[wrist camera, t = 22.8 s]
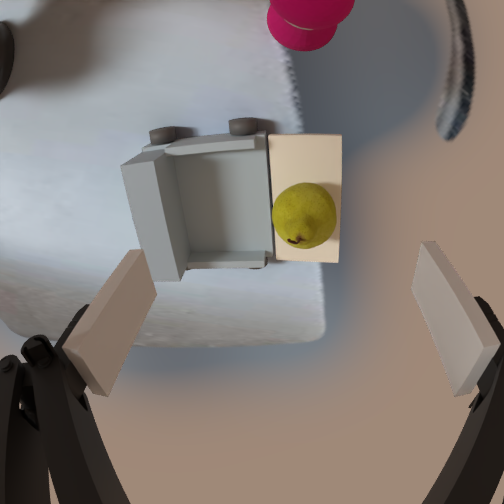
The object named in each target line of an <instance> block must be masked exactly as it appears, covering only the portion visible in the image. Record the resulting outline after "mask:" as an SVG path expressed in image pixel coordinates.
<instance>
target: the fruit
mask: <svg viewBox="0 0 504 504" xmlns="http://www.w3.org/2000/svg"><path fill="white" fill-rule="evenodd" d="M272 221H273V224H274V227H275V230H276V232H277V234H278V235H279V236H280V238H281V239H282V240H283V241H285V242H286V243H287V244H289V245H290V246H292V247H294V248H299V249H310V248H313V247H316V246H319V245H321V244H323V243H324V242H326V241H327V240H328V239H329V238H330V236H331V235H332V233H333V232H334V230H335V227H336V223H337V216H336V207H335V203H334V201H333V199H332V197H331V195H330V194H329V192H328V191H327V190H326V189H324V188H323V187H322V186H320V185H318V184H314V183H307V182H303V183H298V184H295V185H293V186H290V187H289V188H287V189H285V190H284V191H283V192H282V193H281V194H280V195H279V196H278V197H277V198H276V200H275V202H274V206H273V210H272Z"/></svg>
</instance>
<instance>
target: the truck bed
mask: <svg viewBox="0 0 504 504" xmlns="http://www.w3.org/2000/svg"><path fill="white" fill-rule="evenodd" d="M229 129H230V133H227V134H216V135H207V136H198V137H189V138H182V139H176V134H175V127H174V126H170V127H164V128H159V129H155V130H152V131H149V134H150V140H151V143H150V144H148V145H146V146H145V147H143V148H142V153H140V154H138V155H137V156H135V157H134V158H132V159H130V160H129V161H127V162H126V163H124V164H123V165H121V171H122V176H123V180H124V184H125V189H126V193H127V197H128V201H129V205H130V209H131V213H132V217H133V221H134V225H135V229H136V232H137V236H138V240H139V243H140V247H141V249H143V250H144V253H145V257H146V260H147V263H148V267H149V270H150V274H151V277H152V280H153V281H181V279H182V276H183V274H184V272H185V270H190V269H209V268H250V269H260V268H263V267H265V266H266V265H267V263H268V259H267V257H273V252H274V238H273V222H272V207H271V192H270V178H269V164H268V151H267V138H266V131H257V121H256V118H238V119H232V120H229Z"/></svg>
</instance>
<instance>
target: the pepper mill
mask: <svg viewBox="0 0 504 504" xmlns="http://www.w3.org/2000/svg"><path fill="white" fill-rule="evenodd" d="M354 1H355V0H270V3H271V5H270V7H269V10H268V14H267V24H268V28H269V30H270V32H271V34H272V36H273V37H274V38H275V39H276V40H277V41H278V42H279V43H280V44H282V45H283V46H285V47H287V48H290V49H293V50H297V51H312V50H316V49H319V48H321V47H323V46H324V45H326V44H327V43H328V42H329V41H330V40H331V39H332V37H333V36H334V33H335V31H336V29H337V24H338V23H340V22H341V21H343V20H344V19H345V18H346V17H347V16H348V14H349V13H350V11H351V10H352V8H353V5H354Z"/></svg>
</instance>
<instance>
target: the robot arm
mask: <svg viewBox="0 0 504 504" xmlns="http://www.w3.org/2000/svg"><path fill="white" fill-rule="evenodd" d="M13 58H14V42H13V37H12V34H11V31H10V29H9V28H8V27H7V26H6V25H5V24H3V23H0V94H1V92H2V91H3V89H4V87H5V85H6V83H7V81H8V79H9V76H10V73H11V69H12V64H13ZM411 290H412V292H413V294H414V297H415V299H416V301H417V303H418V305H419V308H420V310H421V312H422V314H423V317H424V319H425V321H426V324H427V326H428V328H429V331H430V333H431V336H432V338H433V340H434V343H435V345H436V348H437V350H438V353H439V355H440V358H441V361H442V363H443V366H444V368H445V371H446V374H447V377H448V380H449V383H450V385H451V388H452V391H453V394H454V397H456V396H461V395H465V394H469V393H471V392H472V390H473V389H474V387H475V386H476V384H477V385H478V388H479V390H480V391H479V393H478V394H477V396H476V397H475V398H474V400H473V401H472V403H471V404H470V405H469V408H471V407H472V408H471V411H470V413H469V416H468V418H467V420H466V423H465V425H464V427H463V429H462V432H461V434H460V436H459V438H458V440H457V442H456V444H455V446H454V448H453V450H452V452H451V455H450V457H449V458H448V460H447V462H446V464H445V466H444V468H443V469H442V471H441V473H440V475H439V476H438V478H437V480H436V482H435V484H434V485H433V487H432V488H431V490H430V492H429V493H428V495H427V497H426V498H425V500H424V501H423V503H422V504H489V503H490V502H491V499H492V497H493V495H494V493H495V491H496V488H497V486H498V484H499V481H500V479H501V476H502V474H503V471H504V329H503V327H502V325H501V324H500V322H499V321H498V319H497V317H496V315H495V314H494V313H493V311H492V309H491V307H490V306H489V304H488V303H487V302H486V301H484V300H483V299H482V298H481V297H480V296H478V297H473V296H472V294H471V292H470V291H469V290H468V288H467V286H466V285H465V283H464V282H463V280H462V279H461V277H460V276H459V274H458V273H457V271H456V270H455V268H454V267H453V265H452V264H451V263H450V261H449V260H448V258H447V257H446V255H445V254H444V253H443V251H442V250H441V249H440V247H439V246H438V244H437V243H436V242H435V241H424V242H421V246H420V251H419V256H418V261H417V265H416V270H415V274H414V279H413V283H412V288H411ZM156 295H157V293H156V290H155V286H154V283H153V280H152V277H151V274H150V270H149V267H148V263H147V260H146V257H145V253H144V250H143V249H136V250H129V252H128V253H127V254H126V255H125V257H124V258H123V259H122V261H121V262H120V263H119V265H118V266H117V268H116V269H115V270H114V272H113V273H112V274H111V276H110V277H109V278H108V280H107V281H106V283H105V284H104V285H103V287H102V288H101V290H100V291H99V292H98V294H97V295H96V297H95V298H94V300H93V301H92V302H91V304H86V305H85V306H84V307H83V308H81V309H80V310H79V311H78V312H77V313H76V315H75V316H74V318H73V319H72V321H71V322H70V323H69V325H68V328H66V329H65V331H64V332H63V334H62V335H61V337H60V338H59V340H58V342H57V343H56V345H55V346H54V348H53V346H52V345H51V343H50V341H49V340H48V338H47V337H46V336H44V335H35V336H33V337H31V338H29V339H28V340H27V341H26V342H25V343H24V344H23V346H22V348H21V354H22V355H23V357H24V358H25V360H26V361H27V362H28V363H21V362H20V360H19V359H18V358H17V356H15V355H8V356H5V357H4V358H3V359H1V360H0V504H51V502H50V491H49V475H48V474H49V473H48V468H49V471H50V474H51V478H52V482H53V485H54V489H55V492H56V495H57V498H58V501H59V504H130V502H129V500H128V498H127V496H126V494H125V492H124V490H123V488H122V486H121V483H120V481H119V479H118V477H117V475H116V472H115V470H114V468H113V466H112V463H111V461H110V459H109V456H108V454H107V451H106V449H105V446H104V444H103V441H102V439H101V436H100V433H99V431H98V428H97V425H96V422H95V419H94V417H93V414H92V411H91V408H90V405H89V401H88V398H87V396H86V394H85V393H84V390H85V388H86V386H88V387H89V389H90V390H91V391H92V393H93V394H97V395H102V396H106V397H108V396H109V394H110V392H111V389H112V387H113V385H114V383H115V381H116V378H117V376H118V374H119V372H120V370H121V367H122V365H123V363H124V361H125V359H126V357H127V354H128V352H129V350H130V348H131V346H132V344H133V342H134V340H135V338H136V336H137V334H138V331H139V329H140V327H141V325H142V323H143V321H144V319H145V317H146V315H147V313H148V311H149V309H150V307H151V305H152V303H153V301H154V299H155V297H156ZM19 403H21V409H19ZM502 504H504V499H503V503H502Z"/></svg>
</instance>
